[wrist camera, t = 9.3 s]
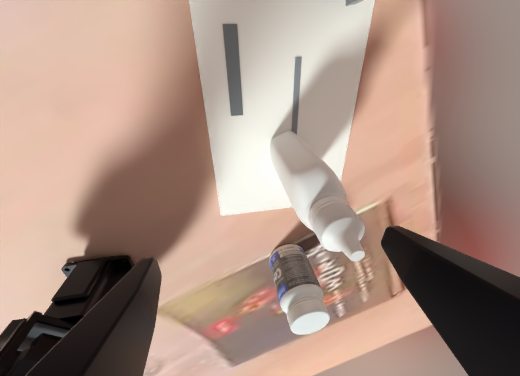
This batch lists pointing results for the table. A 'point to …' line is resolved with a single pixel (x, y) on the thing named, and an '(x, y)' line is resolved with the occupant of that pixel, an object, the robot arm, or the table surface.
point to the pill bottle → (298, 290)
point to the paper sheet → (276, 87)
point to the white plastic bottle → (317, 195)
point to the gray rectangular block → (352, 2)
